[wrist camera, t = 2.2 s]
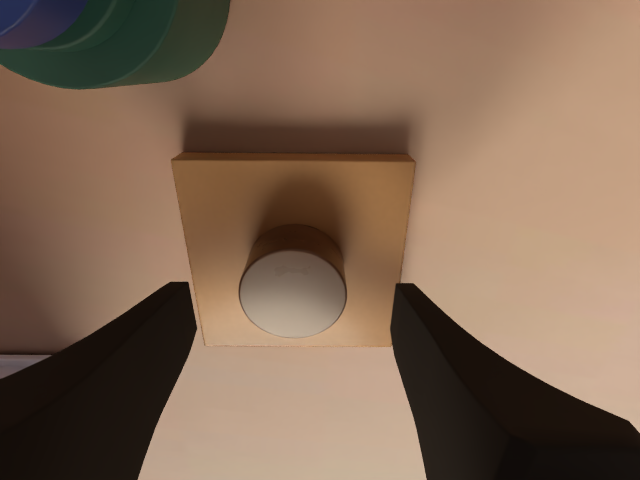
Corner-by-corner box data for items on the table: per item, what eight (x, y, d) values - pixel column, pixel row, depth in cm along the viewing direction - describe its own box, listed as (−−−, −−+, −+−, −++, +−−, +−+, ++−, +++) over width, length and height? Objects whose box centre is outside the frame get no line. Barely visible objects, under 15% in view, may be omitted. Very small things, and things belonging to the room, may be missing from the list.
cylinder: (341, 305, 16) (345, 339, 14) (252, 304, 16) (243, 338, 14) (345, 223, 14) (349, 249, 12) (244, 222, 14) (232, 248, 12)
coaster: (387, 330, 18) (391, 347, 17) (211, 329, 18) (204, 346, 17) (408, 153, 14) (416, 161, 13) (181, 151, 14) (169, 159, 13)
